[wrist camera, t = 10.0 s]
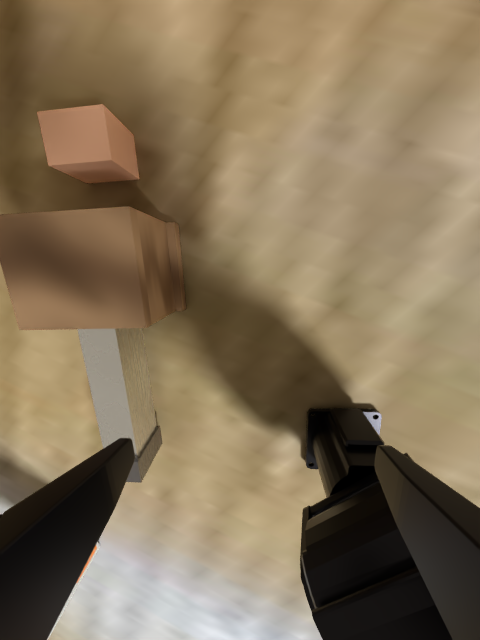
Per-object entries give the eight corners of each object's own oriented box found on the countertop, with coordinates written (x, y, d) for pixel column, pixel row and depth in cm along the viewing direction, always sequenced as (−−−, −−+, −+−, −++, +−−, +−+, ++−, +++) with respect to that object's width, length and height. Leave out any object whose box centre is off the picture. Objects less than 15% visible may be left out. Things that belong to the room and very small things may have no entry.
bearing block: (186, 308, 20) (156, 327, 14) (80, 311, 21) (10, 330, 15) (178, 224, 19) (140, 205, 13) (64, 230, 19) (-23, 215, 13)
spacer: (111, 160, 15) (102, 103, 14) (48, 165, 15) (36, 111, 14) (140, 179, 18) (134, 135, 17) (88, 183, 19) (80, 141, 18)
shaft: (162, 443, 23) (141, 482, 19) (131, 442, 23) (104, 480, 19) (135, 254, 18) (100, 252, 14) (97, 256, 19) (53, 254, 15)
